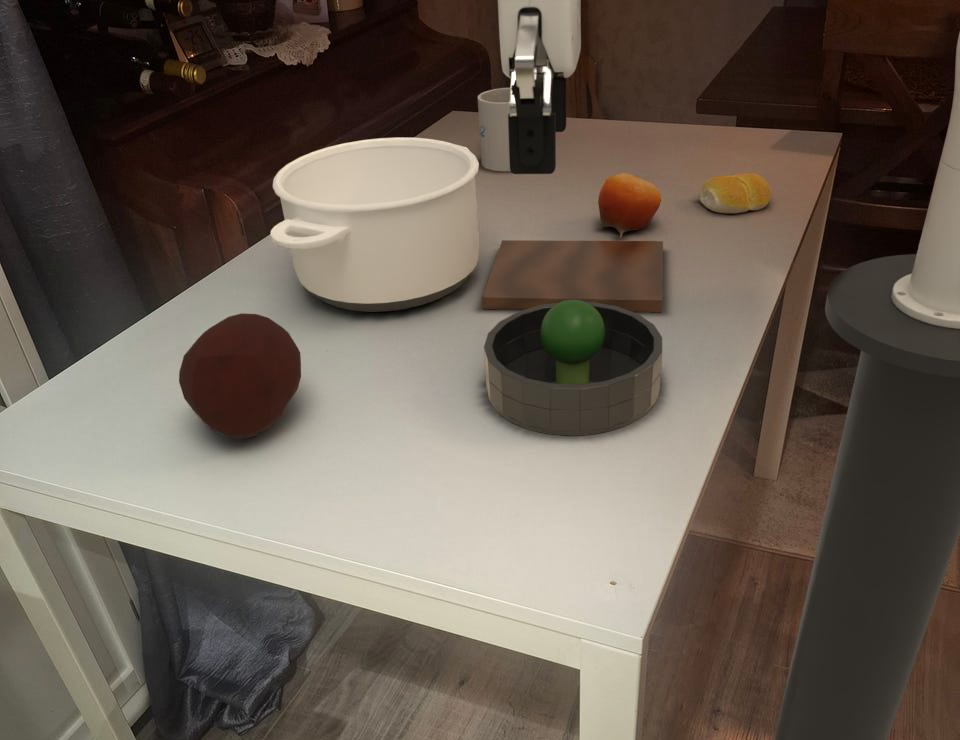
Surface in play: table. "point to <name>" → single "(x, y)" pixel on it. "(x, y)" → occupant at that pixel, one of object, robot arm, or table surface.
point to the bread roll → (735, 193)
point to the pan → (569, 407)
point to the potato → (241, 375)
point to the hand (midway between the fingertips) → (539, 150)
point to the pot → (380, 221)
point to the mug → (494, 128)
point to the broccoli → (572, 339)
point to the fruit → (627, 202)
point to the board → (576, 274)
